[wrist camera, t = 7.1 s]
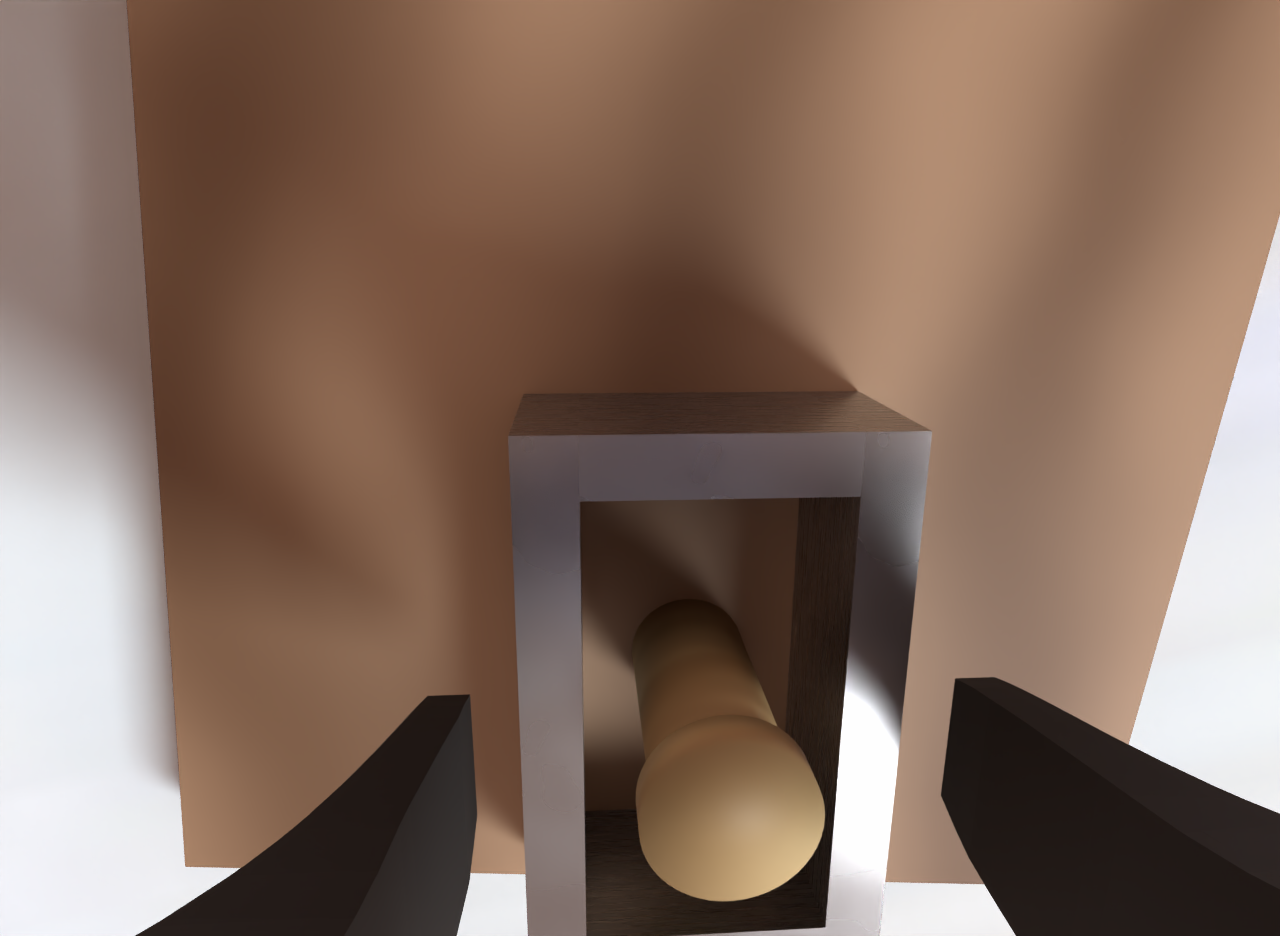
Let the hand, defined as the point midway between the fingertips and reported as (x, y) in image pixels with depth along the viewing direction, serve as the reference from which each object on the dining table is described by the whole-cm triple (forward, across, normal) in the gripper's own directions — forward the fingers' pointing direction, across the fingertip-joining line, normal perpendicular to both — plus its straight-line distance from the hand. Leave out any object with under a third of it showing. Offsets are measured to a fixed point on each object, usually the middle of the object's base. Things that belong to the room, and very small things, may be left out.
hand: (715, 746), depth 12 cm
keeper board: (+4, -1, -7) cm, 8 cm away
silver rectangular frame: (+3, 0, 0) cm, 3 cm away
